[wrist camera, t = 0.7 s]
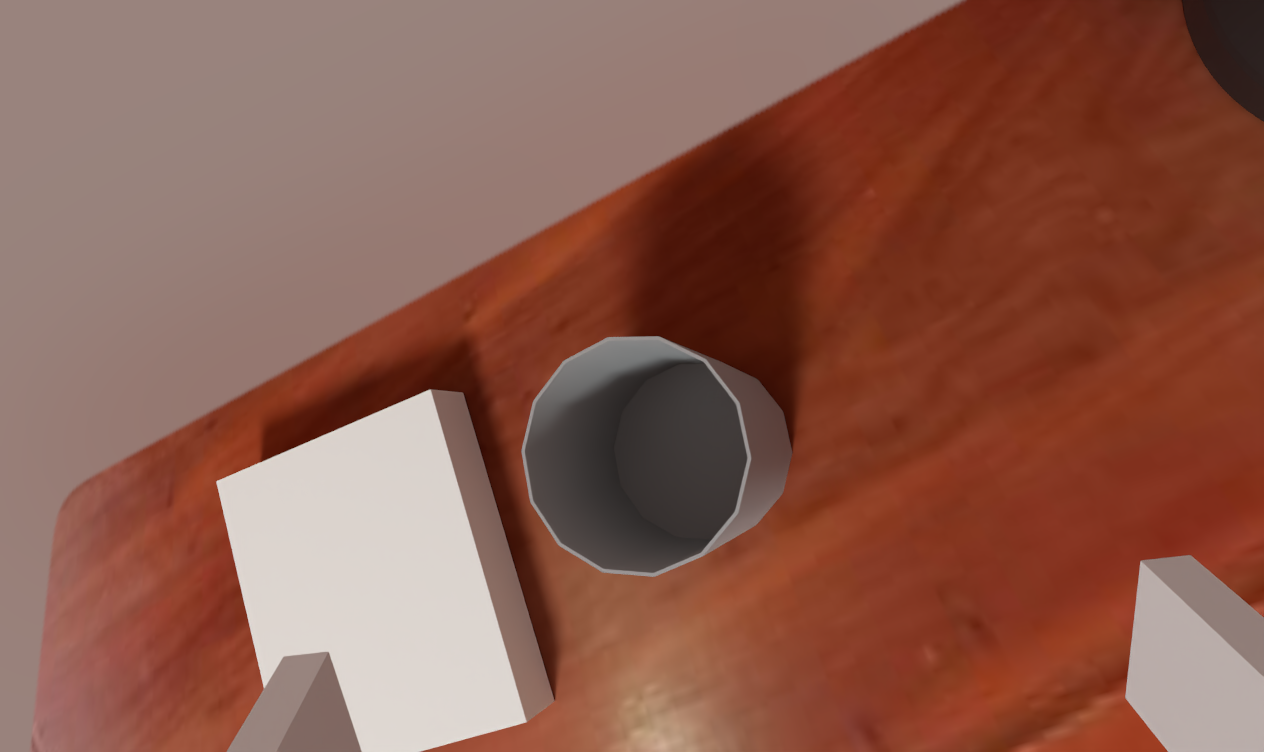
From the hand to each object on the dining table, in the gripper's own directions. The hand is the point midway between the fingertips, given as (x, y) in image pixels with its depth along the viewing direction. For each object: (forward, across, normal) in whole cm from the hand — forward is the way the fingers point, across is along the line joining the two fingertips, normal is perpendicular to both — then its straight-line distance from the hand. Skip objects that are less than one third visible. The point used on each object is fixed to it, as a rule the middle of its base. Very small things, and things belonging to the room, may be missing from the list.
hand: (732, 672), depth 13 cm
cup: (+23, +1, -7) cm, 24 cm away
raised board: (+25, -16, -14) cm, 33 cm away
